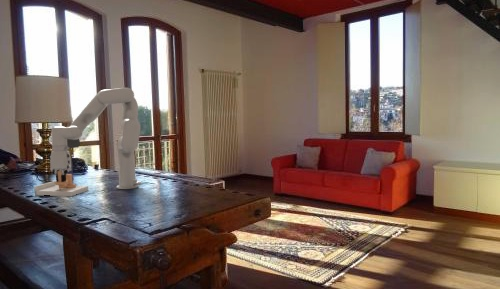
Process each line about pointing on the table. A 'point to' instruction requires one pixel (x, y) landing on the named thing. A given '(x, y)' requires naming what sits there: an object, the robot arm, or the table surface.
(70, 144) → the rubber mallet
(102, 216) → the table surface
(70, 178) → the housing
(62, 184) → the dome with square post
